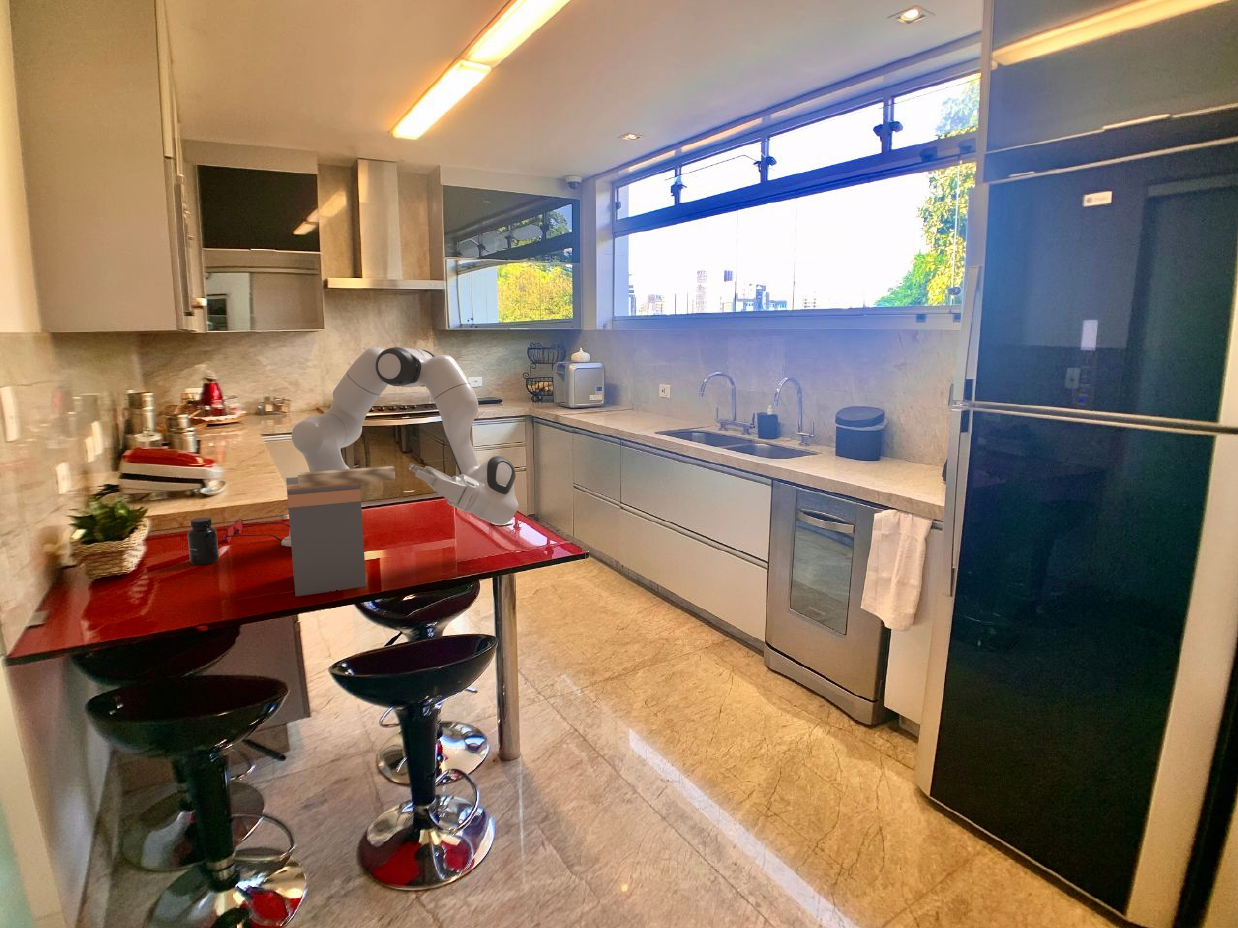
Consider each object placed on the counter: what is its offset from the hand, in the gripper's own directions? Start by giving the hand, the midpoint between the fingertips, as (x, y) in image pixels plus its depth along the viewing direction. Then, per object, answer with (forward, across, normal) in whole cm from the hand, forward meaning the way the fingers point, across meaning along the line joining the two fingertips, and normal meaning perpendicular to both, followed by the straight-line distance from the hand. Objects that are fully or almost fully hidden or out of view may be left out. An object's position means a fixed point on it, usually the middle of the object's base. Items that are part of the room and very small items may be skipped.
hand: (413, 469), depth 172 cm
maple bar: (+13, 0, +10) cm, 16 cm away
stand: (+4, -5, +35) cm, 36 cm away
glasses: (+18, -56, +43) cm, 73 cm away
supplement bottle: (+30, -35, +50) cm, 68 cm away
